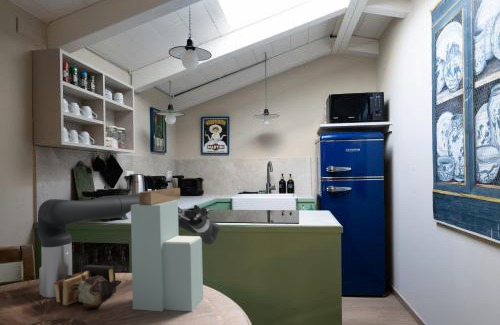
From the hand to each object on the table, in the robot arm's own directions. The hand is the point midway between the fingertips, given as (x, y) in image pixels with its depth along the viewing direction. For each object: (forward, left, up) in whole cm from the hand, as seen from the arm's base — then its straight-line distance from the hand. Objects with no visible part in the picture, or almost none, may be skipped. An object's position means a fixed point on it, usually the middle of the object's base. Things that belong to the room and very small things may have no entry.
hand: (184, 206), depth 123 cm
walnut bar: (0, -18, +4) cm, 18 cm away
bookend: (-21, -26, -28) cm, 43 cm away
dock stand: (+5, -22, -28) cm, 36 cm away
